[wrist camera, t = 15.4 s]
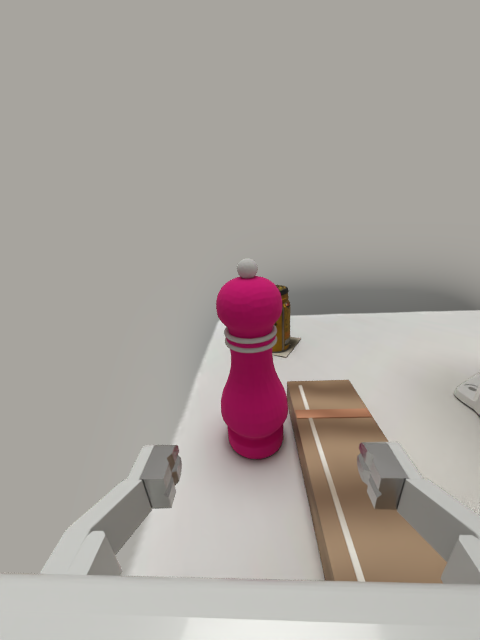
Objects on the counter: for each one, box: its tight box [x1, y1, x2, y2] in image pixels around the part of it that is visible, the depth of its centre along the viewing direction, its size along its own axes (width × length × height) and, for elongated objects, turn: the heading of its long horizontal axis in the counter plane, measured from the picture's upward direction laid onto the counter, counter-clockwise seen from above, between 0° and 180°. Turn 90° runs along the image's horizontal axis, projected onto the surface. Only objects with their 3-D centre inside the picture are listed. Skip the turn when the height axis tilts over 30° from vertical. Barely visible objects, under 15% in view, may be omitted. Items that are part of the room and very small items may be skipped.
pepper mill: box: [216, 258, 288, 459], centre depth 24 cm, size 7×7×20 cm
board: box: [287, 380, 447, 584], centre depth 19 cm, size 28×8×3 cm, turn 178°
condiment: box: [272, 285, 301, 357], centre depth 46 cm, size 7×8×12 cm
